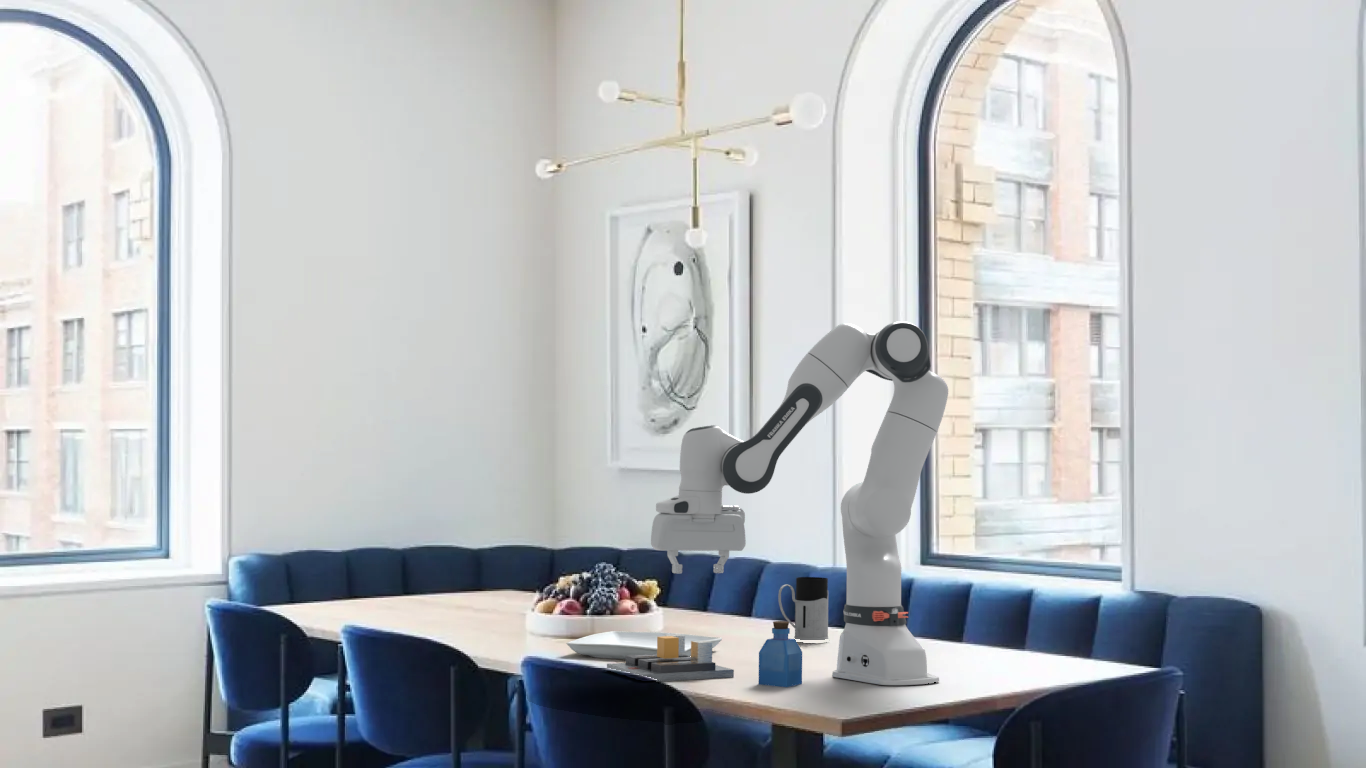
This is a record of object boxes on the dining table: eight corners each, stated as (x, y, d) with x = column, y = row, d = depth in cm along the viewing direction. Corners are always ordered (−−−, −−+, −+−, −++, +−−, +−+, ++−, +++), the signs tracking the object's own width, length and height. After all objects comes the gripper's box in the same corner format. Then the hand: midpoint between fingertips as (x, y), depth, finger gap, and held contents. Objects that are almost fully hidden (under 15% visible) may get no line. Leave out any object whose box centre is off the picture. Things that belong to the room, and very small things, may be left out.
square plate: (563, 659, 361) (564, 641, 361) (612, 645, 386) (612, 628, 387) (681, 666, 351) (682, 647, 352) (723, 652, 377) (723, 635, 377)
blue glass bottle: (786, 687, 320) (787, 624, 321) (758, 684, 323) (759, 622, 324) (801, 683, 325) (802, 621, 326) (773, 681, 329) (774, 619, 329)
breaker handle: (678, 657, 335) (678, 637, 335) (664, 658, 334) (664, 638, 334) (671, 656, 338) (671, 636, 338) (657, 656, 336) (657, 636, 337)
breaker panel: (733, 677, 333) (734, 641, 333) (643, 682, 324) (643, 645, 324) (694, 666, 348) (695, 632, 348) (606, 671, 339) (607, 636, 339)
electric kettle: (837, 642, 397) (838, 578, 397) (789, 645, 389) (790, 580, 389) (814, 638, 404) (814, 576, 405) (767, 641, 396) (768, 578, 397)
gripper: (737, 505, 348) (735, 571, 347) (648, 503, 339) (646, 572, 338) (752, 506, 342) (750, 574, 342) (662, 504, 333) (660, 574, 333)
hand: (697, 573), depth 340 cm, fingers open, 8 cm apart
